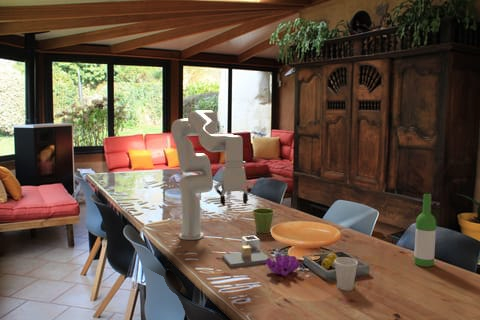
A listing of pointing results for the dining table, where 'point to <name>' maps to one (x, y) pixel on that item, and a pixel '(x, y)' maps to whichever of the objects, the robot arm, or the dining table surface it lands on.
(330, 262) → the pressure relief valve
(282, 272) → the purple bumpy lump
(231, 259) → the board
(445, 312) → the dining table surface
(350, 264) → the dixie cup
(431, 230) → the wine bottle
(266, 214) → the plant pot
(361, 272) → the grey square tray
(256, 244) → the socket
